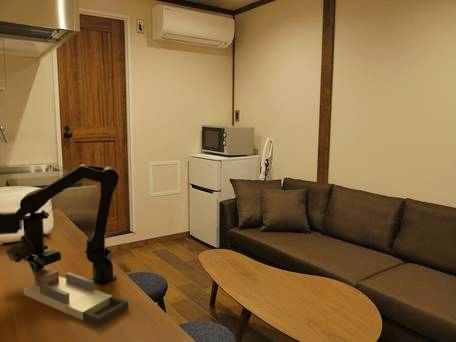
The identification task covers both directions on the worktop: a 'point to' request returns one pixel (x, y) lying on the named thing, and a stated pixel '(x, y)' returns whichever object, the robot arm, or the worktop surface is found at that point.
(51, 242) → the worktop surface
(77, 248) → the worktop surface
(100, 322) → the tray
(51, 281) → the walnut block
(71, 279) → the lane walls
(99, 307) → the deck
